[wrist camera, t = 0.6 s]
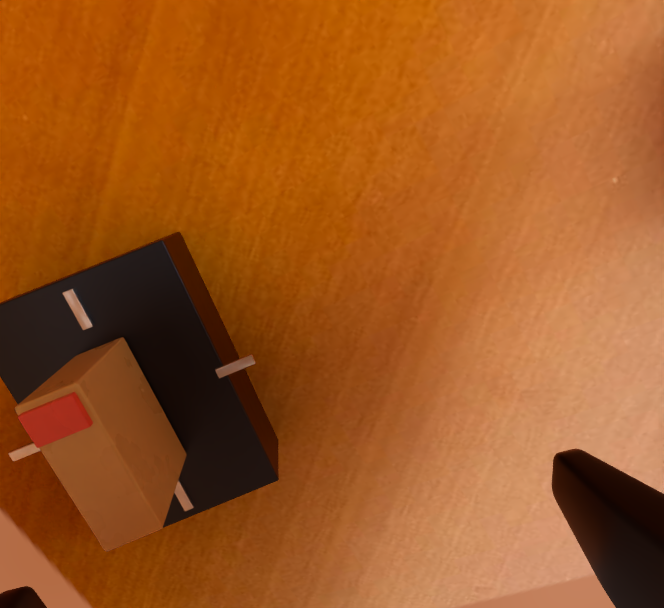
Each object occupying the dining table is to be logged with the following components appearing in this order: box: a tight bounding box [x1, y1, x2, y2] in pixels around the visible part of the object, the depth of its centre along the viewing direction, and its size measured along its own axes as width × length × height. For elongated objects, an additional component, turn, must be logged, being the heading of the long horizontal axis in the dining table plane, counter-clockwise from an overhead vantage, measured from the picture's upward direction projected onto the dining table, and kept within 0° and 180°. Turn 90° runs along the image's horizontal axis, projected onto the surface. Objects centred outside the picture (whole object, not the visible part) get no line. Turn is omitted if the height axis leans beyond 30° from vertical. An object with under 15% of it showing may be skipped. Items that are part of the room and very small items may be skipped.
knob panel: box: [0, 232, 279, 527], centre depth 18 cm, size 10×9×3 cm
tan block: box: [15, 337, 186, 551], centre depth 15 cm, size 5×2×4 cm, turn 21°
